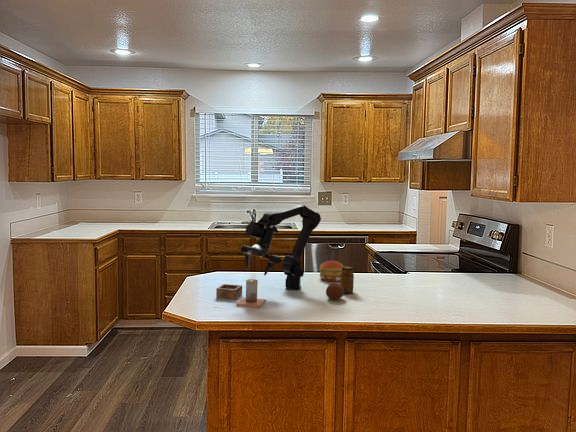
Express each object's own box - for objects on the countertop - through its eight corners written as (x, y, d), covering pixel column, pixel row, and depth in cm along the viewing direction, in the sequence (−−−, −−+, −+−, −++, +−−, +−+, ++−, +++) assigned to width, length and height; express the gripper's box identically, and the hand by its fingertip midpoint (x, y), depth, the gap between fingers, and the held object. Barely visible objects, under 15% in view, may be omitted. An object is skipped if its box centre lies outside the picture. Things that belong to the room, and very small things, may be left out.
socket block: (242, 295, 239) (242, 285, 239) (235, 299, 230) (235, 289, 230) (223, 293, 241) (223, 283, 241) (216, 298, 232) (216, 288, 232)
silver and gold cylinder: (257, 299, 227) (257, 279, 226) (257, 302, 222) (257, 281, 221) (246, 299, 226) (246, 279, 226) (245, 302, 222) (245, 281, 221)
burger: (314, 278, 278) (315, 259, 277) (337, 276, 283) (337, 257, 282) (326, 283, 266) (326, 264, 265) (349, 281, 271) (350, 262, 270)
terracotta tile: (265, 302, 228) (265, 299, 228) (259, 308, 218) (259, 305, 218) (243, 300, 230) (243, 297, 230) (236, 306, 220) (236, 303, 220)
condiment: (350, 290, 252) (350, 265, 251) (358, 294, 244) (359, 269, 243) (336, 291, 250) (336, 266, 248) (344, 295, 242) (344, 269, 241)
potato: (340, 295, 241) (341, 279, 240) (347, 301, 231) (347, 285, 230) (322, 296, 240) (323, 280, 239) (328, 302, 229) (329, 285, 228)
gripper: (240, 233, 236) (230, 266, 237) (278, 245, 231) (267, 279, 231) (249, 233, 247) (240, 265, 247) (286, 245, 241) (276, 278, 242)
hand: (255, 272), depth 242 cm, fingers open, 9 cm apart
